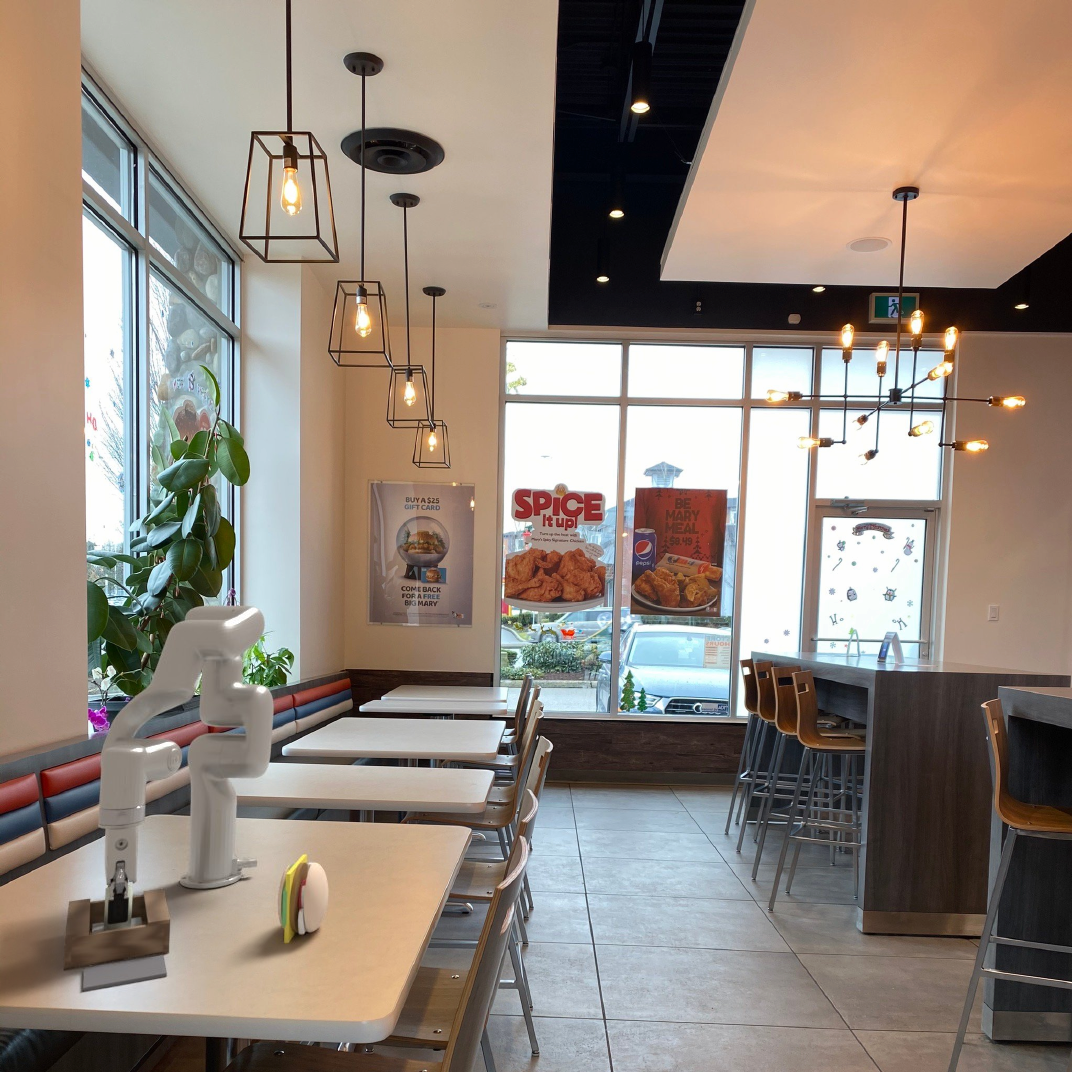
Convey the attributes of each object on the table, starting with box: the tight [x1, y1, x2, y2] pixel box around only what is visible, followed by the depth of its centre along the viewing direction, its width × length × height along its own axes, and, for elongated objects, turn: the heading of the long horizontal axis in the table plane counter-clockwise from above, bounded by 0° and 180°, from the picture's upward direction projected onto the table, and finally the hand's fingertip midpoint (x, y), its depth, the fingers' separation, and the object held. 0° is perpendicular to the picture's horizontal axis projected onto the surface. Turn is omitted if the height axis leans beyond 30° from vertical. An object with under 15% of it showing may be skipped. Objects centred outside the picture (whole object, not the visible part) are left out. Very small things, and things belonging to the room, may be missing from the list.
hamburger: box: [277, 854, 329, 944], centre depth 157 cm, size 12×8×12 cm
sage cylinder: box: [104, 883, 134, 931], centre depth 151 cm, size 4×4×7 cm
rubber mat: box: [82, 954, 168, 992], centre depth 138 cm, size 12×8×1 cm, turn 117°
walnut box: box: [63, 888, 171, 971], centre depth 151 cm, size 16×18×6 cm
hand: (117, 913), depth 151 cm, fingers open, 9 cm apart
